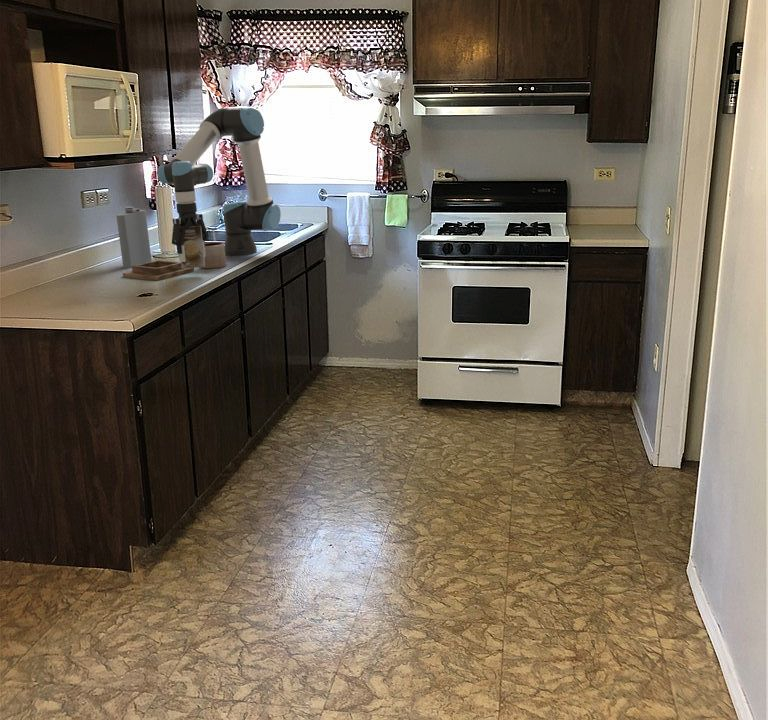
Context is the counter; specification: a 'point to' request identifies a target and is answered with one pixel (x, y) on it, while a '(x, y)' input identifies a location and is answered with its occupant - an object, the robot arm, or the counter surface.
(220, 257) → the planter
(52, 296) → the counter surface
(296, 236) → the counter surface
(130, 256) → the flask
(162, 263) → the holder
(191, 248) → the coffee box
